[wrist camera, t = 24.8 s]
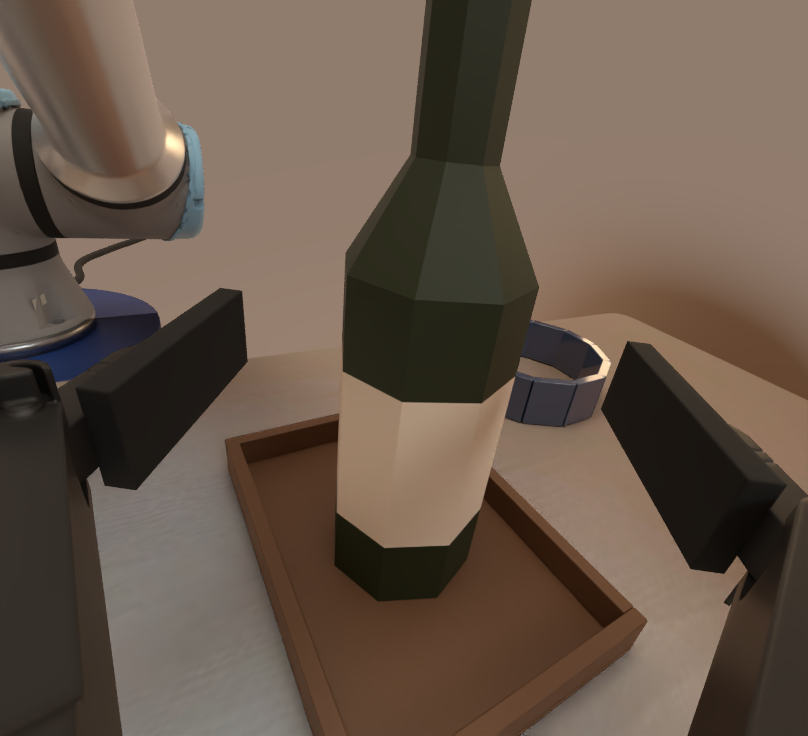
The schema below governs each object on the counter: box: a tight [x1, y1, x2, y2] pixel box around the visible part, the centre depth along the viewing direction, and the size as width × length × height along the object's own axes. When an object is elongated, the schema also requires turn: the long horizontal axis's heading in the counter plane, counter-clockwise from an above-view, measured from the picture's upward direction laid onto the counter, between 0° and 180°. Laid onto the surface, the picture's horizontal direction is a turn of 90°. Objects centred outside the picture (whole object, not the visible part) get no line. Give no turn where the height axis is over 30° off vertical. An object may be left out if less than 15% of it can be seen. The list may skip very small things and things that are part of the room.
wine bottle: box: [334, 0, 539, 601], centre depth 19 cm, size 8×8×30 cm
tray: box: [225, 414, 647, 736], centre depth 26 cm, size 22×16×3 cm
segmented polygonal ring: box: [505, 320, 611, 426], centre depth 45 cm, size 15×15×4 cm
